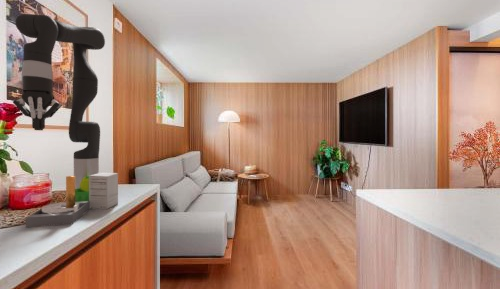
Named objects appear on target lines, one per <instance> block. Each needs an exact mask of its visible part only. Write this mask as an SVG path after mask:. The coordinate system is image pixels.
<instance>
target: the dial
mask: <svg viewBox="0 0 500 289" xmlns="http://www.w3.org/2000/svg"><path fill="white" fill-rule="evenodd" d="M65 184H66V185H65V190H66V191H65V201H63V202H62V201H61V202H62V203H60V202H54V203H55V204H50V203H49V204H50V205H49V204H47V205H45V206H42V207H41V209H42V214H49V213H50V214H54V213H71V212H74V206H75V205H78V209H79V203H77V202H75V176H74V175H67V176H65Z"/></svg>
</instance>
